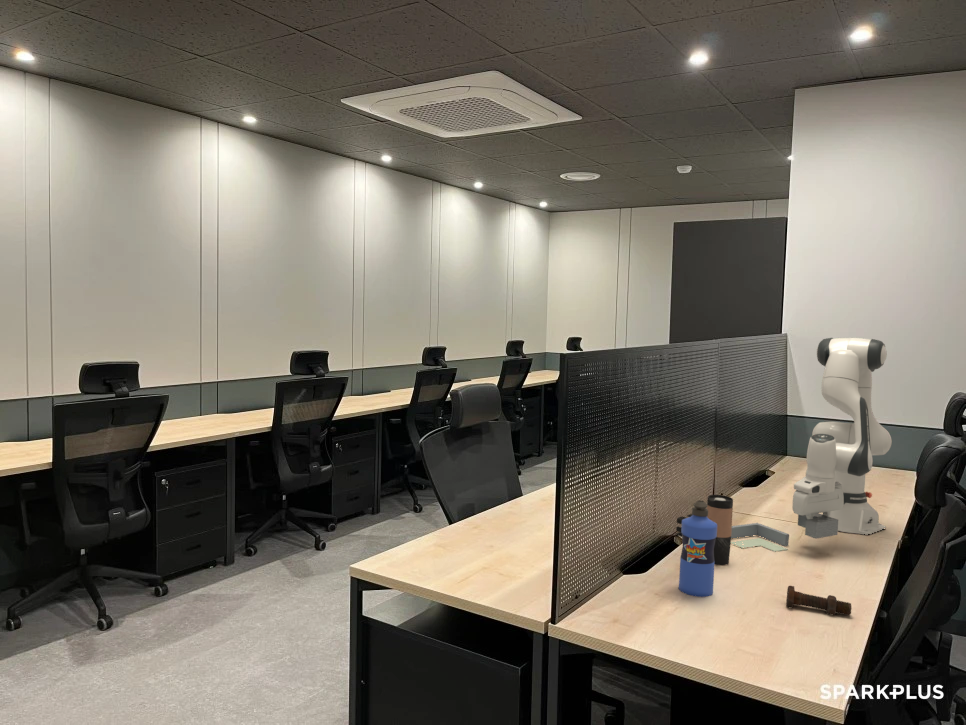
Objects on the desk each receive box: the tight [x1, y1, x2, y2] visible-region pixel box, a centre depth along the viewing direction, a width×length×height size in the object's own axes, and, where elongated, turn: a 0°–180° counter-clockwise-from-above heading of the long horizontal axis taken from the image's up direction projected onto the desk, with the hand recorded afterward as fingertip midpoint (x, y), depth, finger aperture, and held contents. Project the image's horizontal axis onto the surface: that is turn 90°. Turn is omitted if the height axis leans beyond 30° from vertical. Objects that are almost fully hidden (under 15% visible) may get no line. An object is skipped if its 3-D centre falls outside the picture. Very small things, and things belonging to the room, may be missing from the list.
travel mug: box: [706, 494, 734, 566], centre depth 214 cm, size 8×8×20 cm
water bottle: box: [678, 500, 717, 598], centre depth 189 cm, size 9×9×25 cm
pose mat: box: [731, 537, 789, 553], centre depth 230 cm, size 14×12×1 cm
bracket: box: [797, 513, 839, 539], centre depth 226 cm, size 10×12×5 cm
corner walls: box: [731, 522, 790, 547], centre depth 234 cm, size 18×14×4 cm
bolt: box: [785, 585, 852, 616], centre depth 179 cm, size 6×5×15 cm
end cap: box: [675, 513, 693, 538], centre depth 240 cm, size 10×7×7 cm
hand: (817, 525), depth 227 cm, fingers closed on bracket, 4 cm apart
